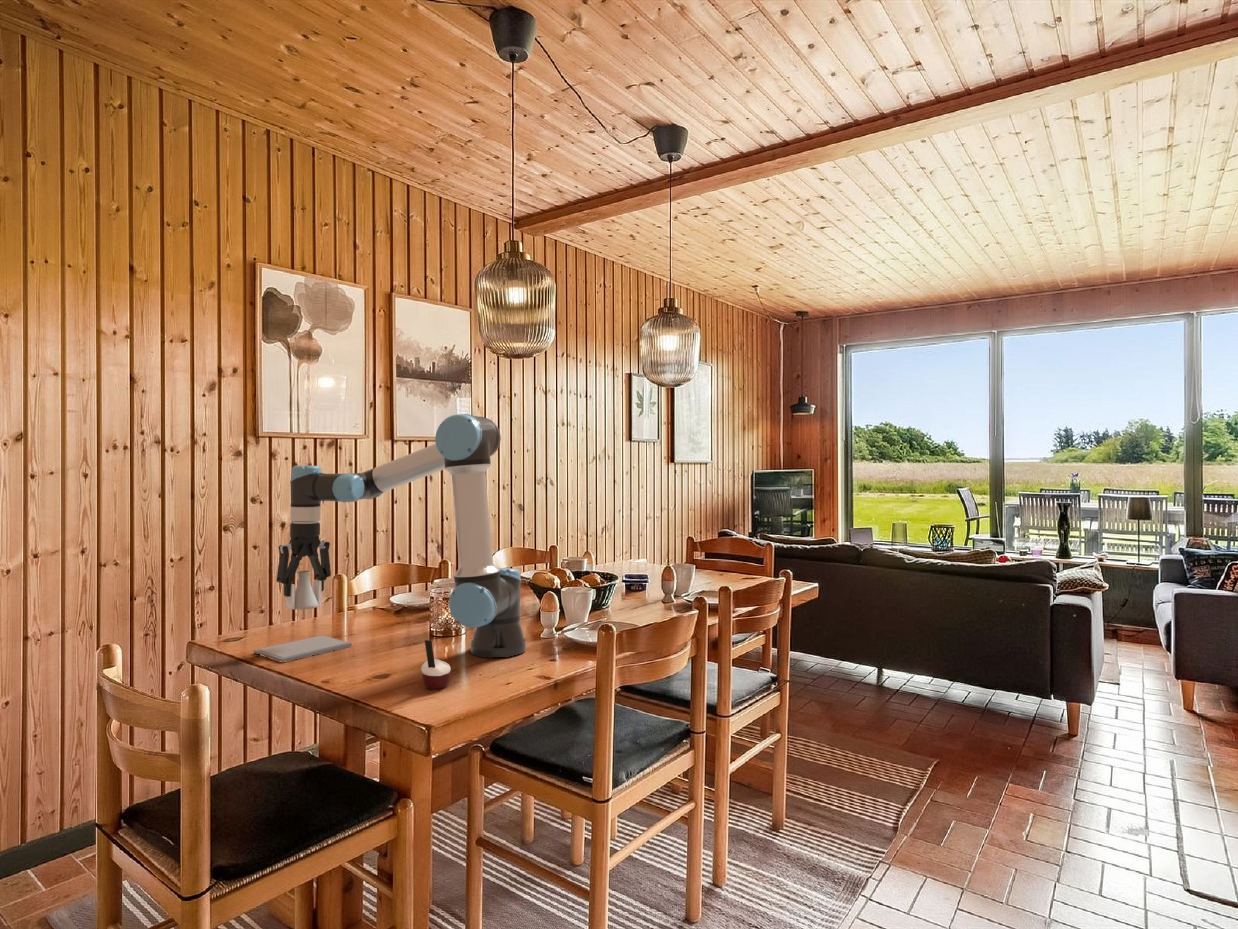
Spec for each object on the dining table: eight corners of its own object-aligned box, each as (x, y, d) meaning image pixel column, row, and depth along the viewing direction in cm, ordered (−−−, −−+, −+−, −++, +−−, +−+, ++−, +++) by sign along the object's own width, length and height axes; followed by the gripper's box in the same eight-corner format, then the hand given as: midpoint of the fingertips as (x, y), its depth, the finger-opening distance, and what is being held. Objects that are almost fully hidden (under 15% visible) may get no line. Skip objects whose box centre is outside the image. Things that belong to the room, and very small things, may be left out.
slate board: (351, 646, 196) (351, 642, 196) (282, 663, 180) (282, 659, 180) (322, 638, 204) (322, 634, 204) (253, 653, 188) (253, 649, 188)
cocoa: (439, 682, 169) (440, 631, 169) (459, 685, 165) (460, 634, 166) (409, 691, 160) (410, 638, 161) (429, 695, 157) (430, 641, 158)
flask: (324, 607, 193) (324, 570, 193) (302, 612, 187) (302, 574, 187) (305, 604, 197) (305, 568, 196) (283, 609, 190) (283, 572, 190)
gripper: (330, 518, 202) (329, 598, 202) (261, 523, 185) (260, 610, 186) (346, 520, 198) (344, 602, 198) (277, 525, 181) (275, 614, 181)
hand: (303, 605), depth 192 cm, fingers closed on flask, 7 cm apart
